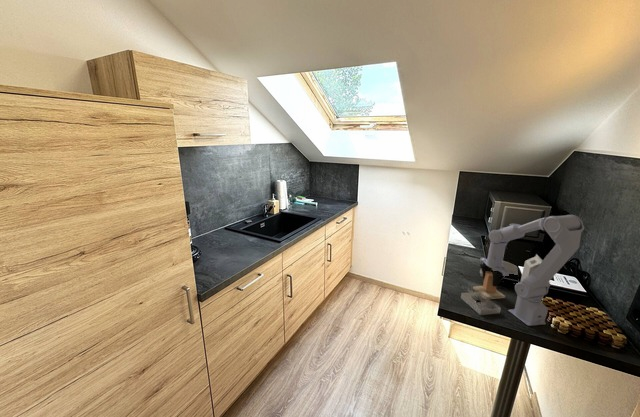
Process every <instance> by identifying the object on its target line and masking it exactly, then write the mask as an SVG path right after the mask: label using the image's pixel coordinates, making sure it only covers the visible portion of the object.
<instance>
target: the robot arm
mask: <svg viewBox="0 0 640 417" xmlns="http://www.w3.org/2000/svg"><path fill="white" fill-rule="evenodd" d="M539 230H542V231H545V232H546V233H547V234H548V236H549V237H550V238H551V240H553V242H554V243H555V245H554V246H553V248H552V249H551V250H550V251H549V252H548V254H546V256H545V257H544V258H543V259H542V260H543V261H542V262H541V263H540V265H539V266H538V267H537V268H536V269H535V271H534V272H533V273H532V274H531V275H530V276H528V277H526V278H524V279H523V280H522V281H521V280H520V281H521V282H520V281H518V283H516V284H515V285H514V291H515V293H516V295H517V296H516V301H515V306H514V308H512V309H508V310H507V311H508V312H509V313H510V314H512V315H513V316H514V317H515V318H517V319H519V320H520V321H522V322H523V323H524V324H525V325H527V327H529V326H530V327H531V326H540V325H542V326H543V325H546V317H547V314H548V307H547V306H546V305H545V304H544V303H543V301H541V299H542V297H543V298H544V296H546V295H547V294H548V293H549V288H550V286H551V285H552V284H551V282H550V281H551V280H552V278H554V277H555V275H557V274H558V272H559V271H560V270H561V269H562V268H563V266H564V265H565V264H566V263H567V262H568V261H569V259H571V258H572V256H574V254H575V253H576V252H577V251H578V250H579V248H580V246H581V245H580V244H581V239H582V238H581V237H582V233H583V231H584V230H585V226H584V223H583V221H582V219H581V218H580V217H579V216H578V215H575V214H566V215H550V216H548V217H547V216H545V217H542V218H538V219H535V220H533V221H530V222H527V223H524V224H520V223H519V224H518V223H514V222H513V223H509V225H508V226H506V227H505V226H501V227H500V228H499V229H492V230H491V231H489V233H488V239H489V241H490V243H489V248H488V254H487V258H486V257H484V256H483V257H479V258H480V259H479V262H480V264H479V267H480V269H482V273H483V277H482V279H483V280H484V278H485V272H486V271H489V272H491V270H492V268H493V269H495V270H496V271H497V272H492V274H493V286H497V287H498V286H499V285H500V283H501V280H502V279H503V278H504V277H505V276H509V272H508V271H507V270H506V269H505V268H504V267H503V264H502V262H503V261H504V257H505V256H504V255H505V253H506V252H505V251H506V246H508V243H509V242H510V241H513V240H517V239H521V238H523V237H525V235H526V233H531V232H534V231H539ZM482 262H483V264H482Z"/></svg>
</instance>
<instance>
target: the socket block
mask: <svg viewBox="0 0 640 417" xmlns="http://www.w3.org/2000/svg"><path fill="white" fill-rule="evenodd" d="M460 299H461V300H462V301H463V302H464V303H466V304H467V305H468V306H469V307H470V308H471V309H473V311H475V312H476V313H477V315H480V316H485V315H486V316H487V315H495V314H501V309H502V307H501V306H499V305H498V304H497V303H495V302H494V301H493V300H492V299H489V298H487V297H486V296H485V295H483V294H482V293H481V292H477V291H472V292H471V291H470V292H468V291H467V292H461V295H460ZM477 301H479V302H477Z"/></svg>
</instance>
